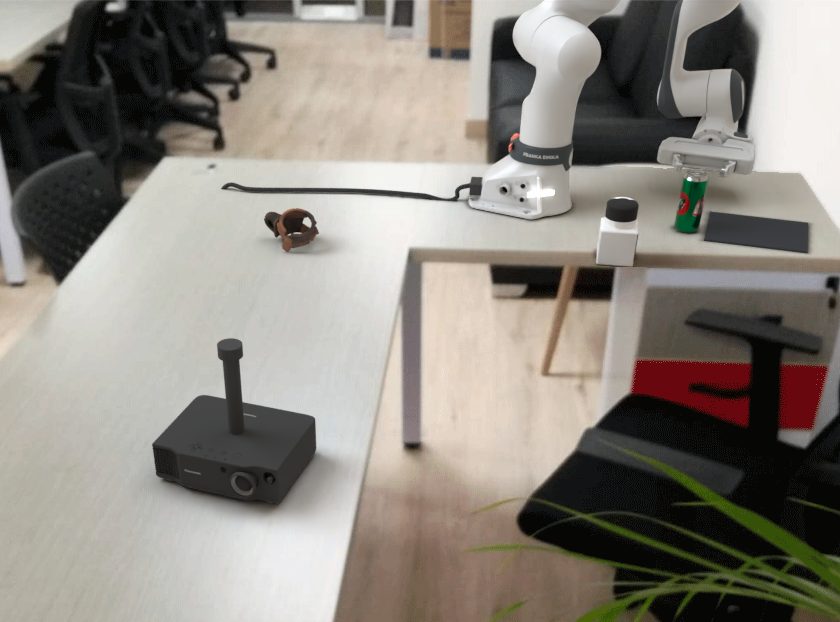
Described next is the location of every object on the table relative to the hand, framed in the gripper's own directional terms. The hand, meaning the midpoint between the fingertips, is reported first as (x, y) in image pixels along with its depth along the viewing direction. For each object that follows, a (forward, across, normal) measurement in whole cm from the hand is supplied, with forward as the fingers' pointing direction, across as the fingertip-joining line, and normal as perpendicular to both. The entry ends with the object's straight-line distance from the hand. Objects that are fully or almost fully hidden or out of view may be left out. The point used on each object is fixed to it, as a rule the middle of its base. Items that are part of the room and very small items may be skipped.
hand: (700, 170), depth 230 cm
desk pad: (+9, +14, +8) cm, 18 cm away
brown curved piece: (+50, -73, +5) cm, 89 cm away
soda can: (+13, 0, +8) cm, 15 cm away
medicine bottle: (+34, -10, +6) cm, 36 cm away
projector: (+127, -46, -3) cm, 135 cm away
